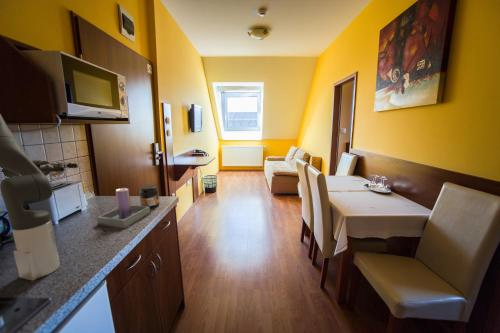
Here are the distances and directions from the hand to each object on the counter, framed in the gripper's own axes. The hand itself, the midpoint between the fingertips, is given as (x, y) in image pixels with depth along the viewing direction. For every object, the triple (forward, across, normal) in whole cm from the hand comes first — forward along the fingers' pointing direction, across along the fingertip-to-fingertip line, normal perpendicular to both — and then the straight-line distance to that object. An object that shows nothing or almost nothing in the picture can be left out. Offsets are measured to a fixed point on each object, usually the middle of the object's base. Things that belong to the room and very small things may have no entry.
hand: (70, 167), depth 103 cm
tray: (+19, +6, +30) cm, 35 cm away
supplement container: (+25, +23, +30) cm, 45 cm away
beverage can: (+19, +6, +29) cm, 35 cm away
